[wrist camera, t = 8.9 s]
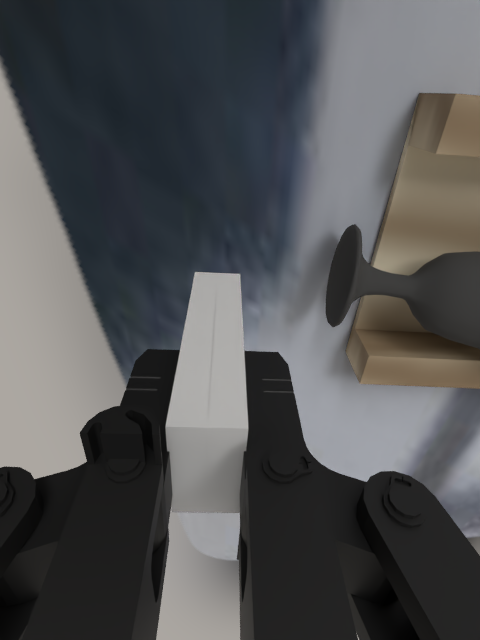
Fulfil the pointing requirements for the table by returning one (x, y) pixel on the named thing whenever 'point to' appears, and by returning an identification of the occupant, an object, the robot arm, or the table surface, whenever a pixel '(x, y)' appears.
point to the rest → (423, 247)
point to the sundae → (411, 289)
